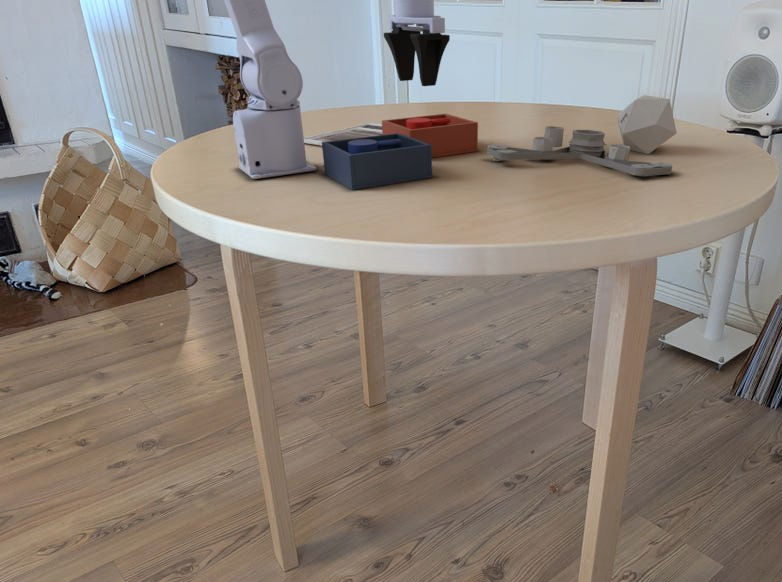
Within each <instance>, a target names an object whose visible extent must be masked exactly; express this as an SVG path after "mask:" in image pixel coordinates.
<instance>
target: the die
mask: <svg viewBox="0 0 782 582" xmlns="http://www.w3.org/2000/svg"><path fill="white" fill-rule="evenodd" d="M616 119H617V123H618V129H619V132H620V135H621V139H622V140H621V141H622V145H625V146H629V147H630V151H633V152H637V153H640V154H644V155H649V154H651V153H652V152H653V151H654V150H656V149H657V148H659V147H661V145H663V144H665V143H666V142H667V141H668V140H670V139H671V138H673V137H674V136H676V135H677V134H678V132H677V127H676V123H675V118H674V113H673V109H672V104H671V100H670V98H664V97H660V96H659V97H658V96H652V95H647V94H644V95H642V96H640V97H637V98H636V99H634V100H633V101H632V102H631V103H630V104H628V105H627V106H626V107H625V108H624V109H623V110H622V111H620V112H619V113H618V114H617V115H616Z"/></svg>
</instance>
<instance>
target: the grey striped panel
mask: <svg viewBox="0 0 782 582" xmlns="http://www.w3.org/2000/svg"><path fill="white" fill-rule="evenodd" d="M378 135H383V132H382V123H373V122H366V123H363V124H362V123H361V124H357V125H354V126H350V127H349V126H348V127H345V128H341V129H337V130H332V131H329V132H328V131H327V132H323V133H319V134H315V135H310V136H307V137H304V144H307V145H315V146H321V147H322V142H327V141H336V140H344V139H352V138H361V137H369V136H378Z"/></svg>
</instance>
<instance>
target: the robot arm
mask: <svg viewBox="0 0 782 582" xmlns="http://www.w3.org/2000/svg"><path fill="white" fill-rule="evenodd" d="M223 2H224V5H225V7H226V10H227V14H228V16H229V19H230V21H231V24H232V27H233V29H234V32H235V36H236V53H237V55H238V58H239V64H240V65H239V66H240V67H239V79H240V82H241V86H242V87H243V89H244V90H245V92H246V93H247V94H249V97H248V100H247V108H244V109H238V110H235V111H233V114H232V126H233V132H234V133H233V134H234V139H235V144H236V152H237V156H238V157H237V159H238V162H239V163H238V164H239V165H238V169H240V170H241V171H242V172H244V173H245V174H246V175H248V176H249V178H251V179H253V180H256V179H265V178H272V177H279V176H285V175H286V176H287V175H293V174H300V173H301V174H302V173H309V172H316V171H317V167H316V166H314V165H313V164H312V163H310V162H308V161H307V155H306V147H305V143H304V138H305V137H304V128H303V119H302V112H301V103H300V100H298V99H299V98H300V96H301V94H302V91H303V85H304V84H303V83H304V82H303V81H304V80H303V76H302V73H301V71H300V69H299V67H298V66H297V65H296V63H295V62H293V60H292V59H291V58H290V55H289V54H288V51H287V48H286V45H285V43H284V42H283V40H282V38H281V37H280V35H279V34H278V32H277V30H276V29H275V27H274V24H273V21H272V18H271V14H270V12H269V9H268V5H267V2H266V0H223ZM394 3H395V4H394V5H395V7H394V8H395V14H391V15H390V14H389V15H388V16H387V19H388V29H389V30H391V32H383V38H384V40H385V42H386V43H387V45H388V48H389V49H390V51H391V54H392V58H393V62H394V66H395V69H396V72H397V77H398V80H399V81H400V82H407V81H413V80H414V75H415V59H416V58H417V63H418V71H419V80H420V84H421V87H432V86H436V85H437V81H438V75H439V71H440V66H441V62H442V58H443V56H444V53H445V50H446V48H447V47H448V46H447V45H448V44H449V42H450V37H451V36H450V34H446V18H445V17H441V15H435V0H394ZM421 32H422V33H421Z"/></svg>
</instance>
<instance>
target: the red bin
mask: <svg viewBox="0 0 782 582" xmlns="http://www.w3.org/2000/svg"><path fill="white" fill-rule="evenodd" d="M411 118H428V119H440V118H450V119H451V122H450V123H448V124H439V125H431V127H429V128H420V129H409V128H407V125H406V120H407V119H411ZM381 124H382V132H383V135H386V134H394V133H395V134H396V133H400V134H403V135H405V136H408V137H411V138H414V139H416V140H419V141H422V142H425V143H427V144H430V145H431V147H432V158H439V157H446V156H453V155H459V154H468V153H474V152H478V150H479V149H478V144H479V140H478V139H479V138H478V137H479V122H477V121H475V120H470V119H467V118H463V117H460V116H456V115H453V114H450V113H439V114H438V113H437V114H429V115H421V116H419V115H418V116H411V117H402V118H400V117H399V118H392V119H384V120H383V119H382V120H381Z"/></svg>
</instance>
